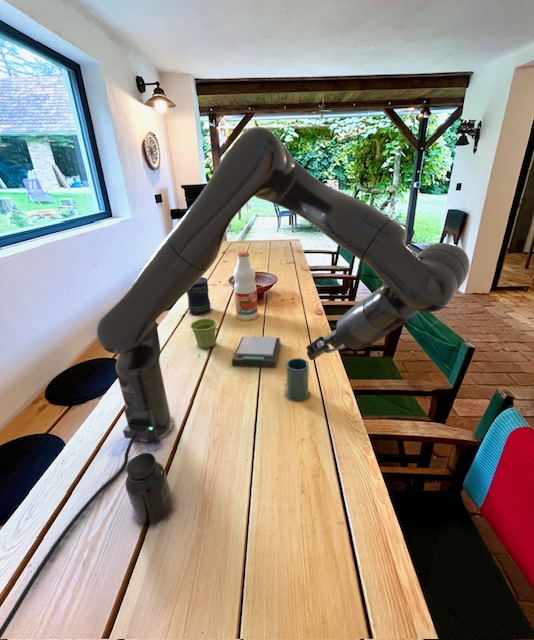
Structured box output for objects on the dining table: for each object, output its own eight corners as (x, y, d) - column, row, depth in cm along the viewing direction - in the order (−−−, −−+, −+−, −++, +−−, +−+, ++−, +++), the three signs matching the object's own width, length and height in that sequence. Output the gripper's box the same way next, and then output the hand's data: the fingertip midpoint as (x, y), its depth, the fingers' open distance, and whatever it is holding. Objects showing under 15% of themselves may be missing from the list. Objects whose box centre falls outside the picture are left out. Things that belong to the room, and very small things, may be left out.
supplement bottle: (159, 486, 65) (148, 441, 60) (180, 505, 61) (169, 459, 56) (128, 511, 61) (113, 465, 56) (148, 534, 57) (133, 487, 52)
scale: (274, 367, 103) (274, 359, 102) (232, 365, 105) (231, 357, 104) (279, 343, 118) (279, 335, 116) (242, 342, 120) (241, 334, 118)
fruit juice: (251, 310, 148) (247, 249, 136) (261, 317, 140) (258, 253, 129) (233, 315, 143) (227, 252, 132) (242, 322, 136) (237, 256, 124)
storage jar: (213, 313, 146) (209, 281, 140) (191, 317, 143) (186, 285, 137) (208, 306, 154) (204, 276, 148) (187, 309, 151) (183, 279, 145)
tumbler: (307, 401, 87) (308, 370, 83) (285, 400, 88) (285, 369, 84) (308, 388, 93) (309, 358, 89) (287, 387, 94) (287, 357, 90)
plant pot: (214, 352, 114) (211, 330, 110) (189, 350, 116) (186, 328, 112) (222, 339, 122) (220, 319, 119) (199, 338, 124) (196, 317, 120)
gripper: (385, 297, 63) (343, 328, 77) (326, 313, 57) (292, 343, 71) (403, 331, 61) (356, 357, 75) (344, 352, 55) (305, 375, 69)
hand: (325, 350), depth 73 cm, fingers open, 8 cm apart
